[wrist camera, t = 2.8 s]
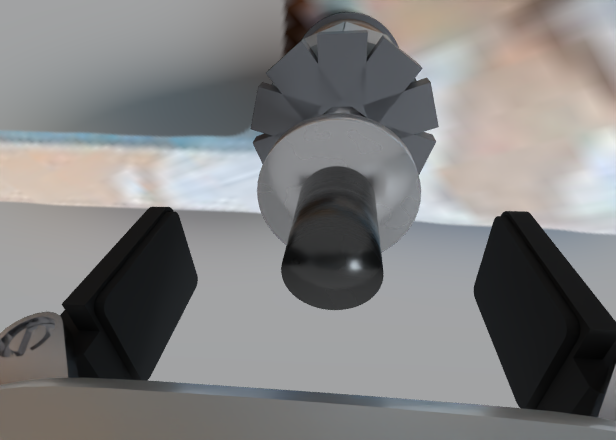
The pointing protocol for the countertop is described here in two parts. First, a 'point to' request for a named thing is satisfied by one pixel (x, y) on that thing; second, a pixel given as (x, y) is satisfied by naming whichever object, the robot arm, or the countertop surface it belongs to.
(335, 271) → the plunger
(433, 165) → the countertop surface
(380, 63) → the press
